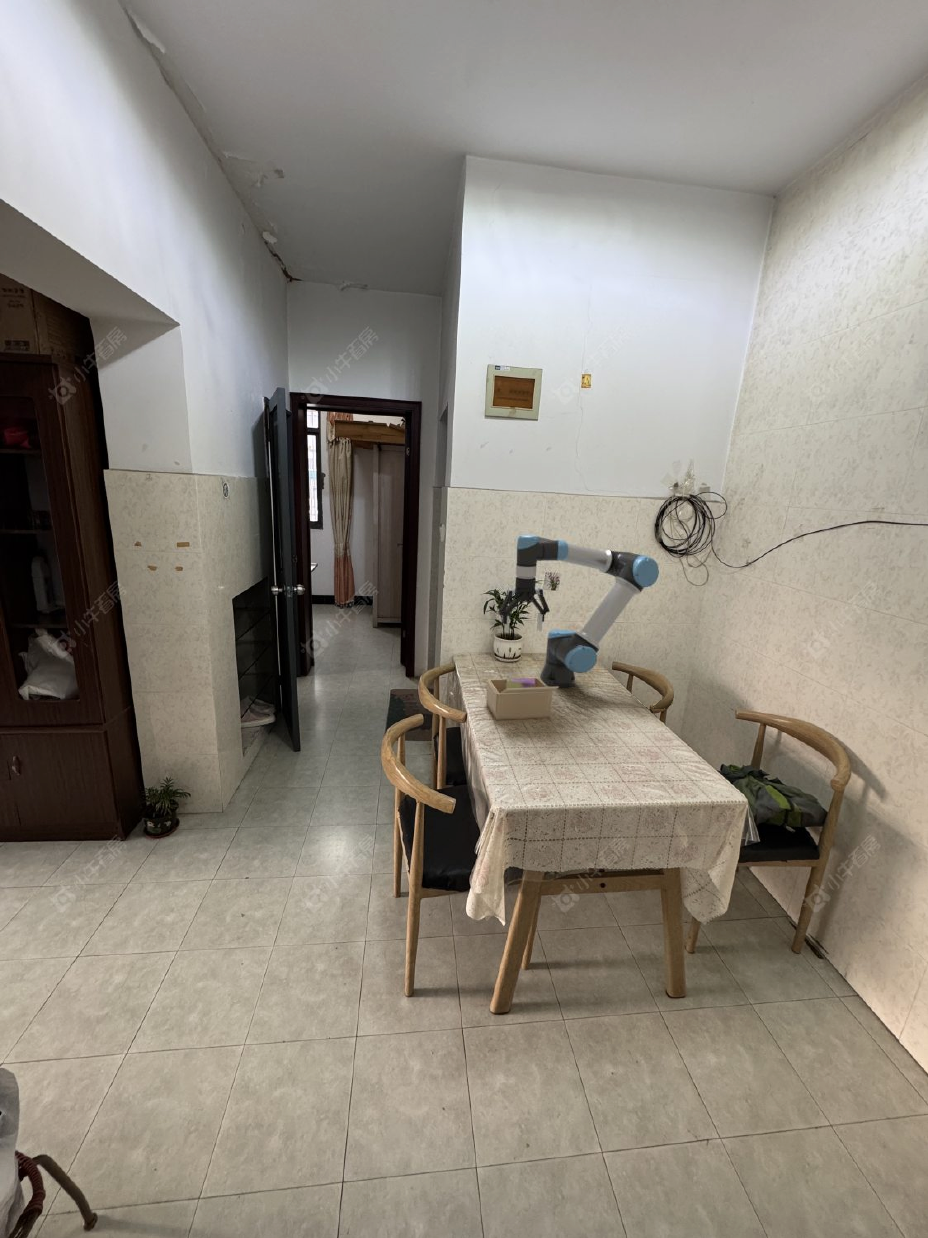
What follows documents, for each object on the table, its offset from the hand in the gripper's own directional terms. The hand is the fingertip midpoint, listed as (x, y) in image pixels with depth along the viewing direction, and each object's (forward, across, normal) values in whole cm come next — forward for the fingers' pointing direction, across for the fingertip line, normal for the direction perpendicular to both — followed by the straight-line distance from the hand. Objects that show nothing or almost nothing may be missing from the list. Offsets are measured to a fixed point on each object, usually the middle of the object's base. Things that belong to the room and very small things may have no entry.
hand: (523, 631), depth 193 cm
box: (+27, +6, +12) cm, 30 cm away
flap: (+14, +6, +23) cm, 27 cm away
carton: (+27, +6, +12) cm, 30 cm away
